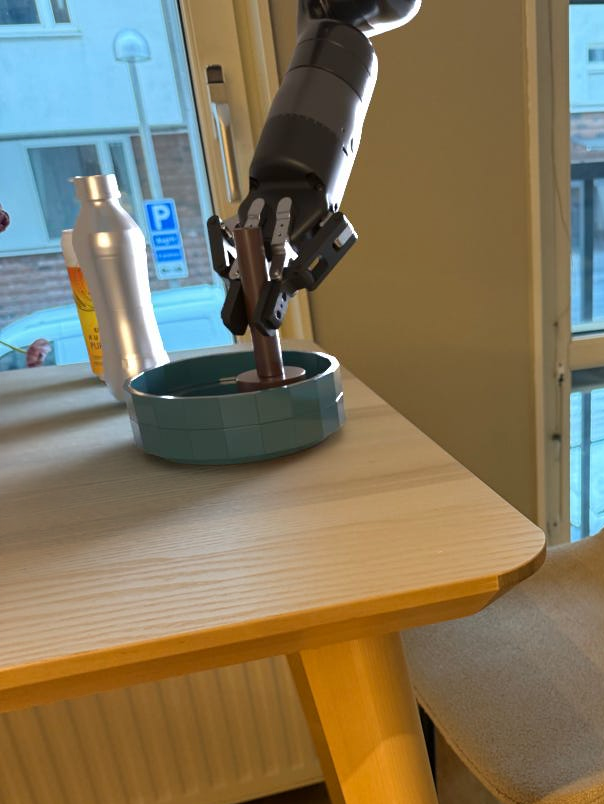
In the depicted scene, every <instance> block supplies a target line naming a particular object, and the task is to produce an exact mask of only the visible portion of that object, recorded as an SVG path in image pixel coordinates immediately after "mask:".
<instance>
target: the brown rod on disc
mask: <svg viewBox="0 0 604 804" xmlns="http://www.w3.org/2000/svg"><path fill="white" fill-rule="evenodd" d="M232 232H233V238H234V243H235V249H236V255H237V261H238V267H239V272H240V278H241V284H242V290H243V296H244V301H245V307H246V313H247V319H248V329H249V330H248V331H249V336H250V341H251V348H252V350H253V354H254V359H255V365H256V369H255V370H250V371H247V372H244V373H242V374H240V375H238V376H237V378H236V380H237V385H238V391H239V393H248V392H255V391H261V390H266V389H271V388H277V387H282V386H287V385H290V384H294V383H297V382H301V381H304V380H306V373H305V370H304V369H302V368H299V367H292V366H283V361H282V355H281V344H280V343H281V341H280V337H279V336H280V335H279V329H278V330H276V332H275V335H274V336H273V337H265V336H263V335H262V334H261V333H260V332H259V331H258V330H257V329H256V328H255V326H254V325H253V322H252V317H253V314H254V311H255V308H256V305H257V302H258V299H259V296H260V293H261V290H262V287H263V284H264V281H270V280H271V278H270V277H269V272H268V266H267V260H266V253H265V247H264V241H263V234H262V228H261V227H242V228H235V229H232Z"/></svg>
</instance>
